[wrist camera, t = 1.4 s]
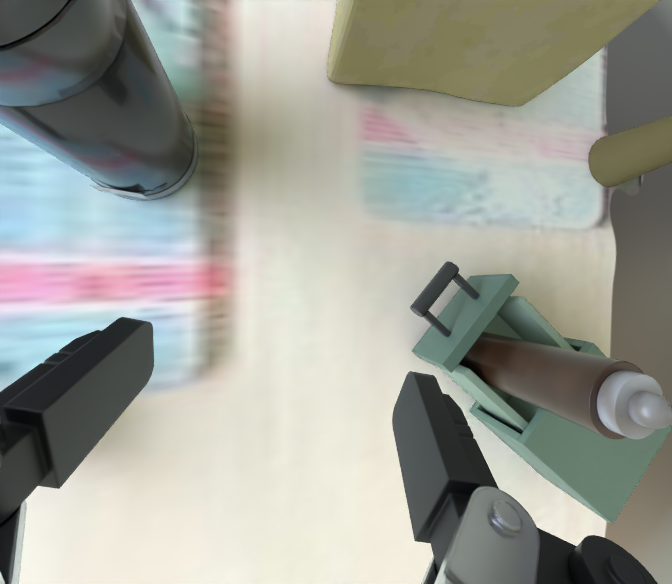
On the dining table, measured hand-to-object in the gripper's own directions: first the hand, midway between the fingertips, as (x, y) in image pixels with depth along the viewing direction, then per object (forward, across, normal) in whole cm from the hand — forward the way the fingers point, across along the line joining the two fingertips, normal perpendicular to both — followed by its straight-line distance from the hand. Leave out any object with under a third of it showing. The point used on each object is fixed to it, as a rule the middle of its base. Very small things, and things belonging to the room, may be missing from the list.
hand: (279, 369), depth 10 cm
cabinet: (+20, -29, +15) cm, 38 cm away
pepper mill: (+19, -18, +9) cm, 28 cm away
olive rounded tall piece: (+34, -33, -12) cm, 48 cm away
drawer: (+20, -18, +8) cm, 28 cm away
